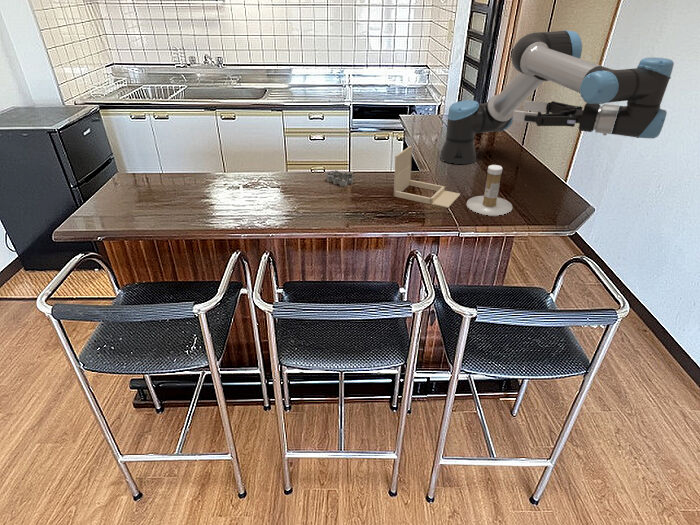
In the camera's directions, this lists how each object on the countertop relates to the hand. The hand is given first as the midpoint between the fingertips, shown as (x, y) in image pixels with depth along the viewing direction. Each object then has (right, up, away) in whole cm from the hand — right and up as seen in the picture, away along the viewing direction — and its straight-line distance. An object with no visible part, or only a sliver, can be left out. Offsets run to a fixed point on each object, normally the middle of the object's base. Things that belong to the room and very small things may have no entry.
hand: (518, 110), depth 131 cm
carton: (-23, -21, +27) cm, 41 cm away
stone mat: (-3, -26, +18) cm, 32 cm away
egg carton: (-55, -14, +40) cm, 69 cm away
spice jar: (-3, -26, +18) cm, 32 cm away
